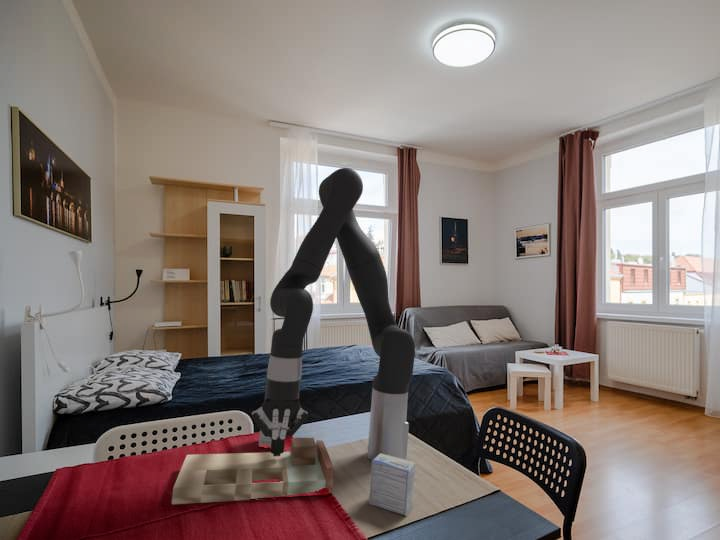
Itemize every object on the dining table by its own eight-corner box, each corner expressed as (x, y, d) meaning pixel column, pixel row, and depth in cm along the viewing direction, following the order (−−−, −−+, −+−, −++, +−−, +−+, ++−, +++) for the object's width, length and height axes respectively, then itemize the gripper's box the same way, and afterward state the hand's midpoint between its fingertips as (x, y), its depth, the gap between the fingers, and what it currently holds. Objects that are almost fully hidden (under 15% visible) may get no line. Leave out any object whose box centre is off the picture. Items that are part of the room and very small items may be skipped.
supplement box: (280, 450, 97) (284, 404, 98) (257, 447, 97) (261, 402, 98) (285, 441, 103) (289, 398, 104) (263, 439, 103) (267, 396, 104)
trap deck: (320, 463, 91) (322, 440, 92) (331, 495, 78) (334, 467, 78) (185, 468, 84) (188, 443, 84) (171, 504, 70) (174, 473, 70)
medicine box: (413, 506, 76) (416, 462, 77) (406, 517, 72) (409, 470, 73) (376, 494, 80) (379, 452, 80) (368, 504, 75) (371, 459, 76)
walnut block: (311, 455, 89) (313, 437, 89) (315, 464, 84) (316, 446, 84) (290, 455, 88) (291, 437, 88) (292, 465, 83) (293, 446, 83)
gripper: (311, 373, 91) (304, 447, 90) (253, 371, 88) (246, 448, 87) (315, 380, 84) (308, 461, 83) (253, 379, 81) (245, 463, 79)
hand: (276, 454), depth 85 cm, fingers closed
